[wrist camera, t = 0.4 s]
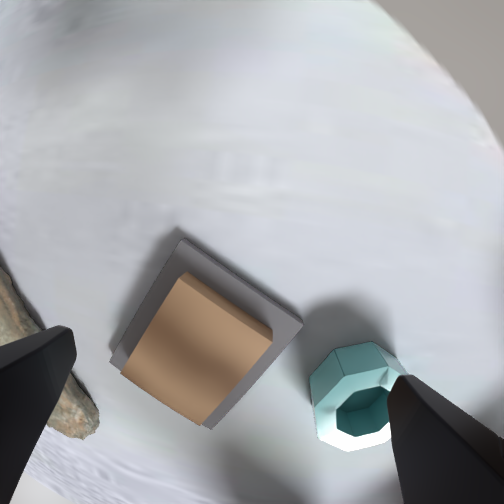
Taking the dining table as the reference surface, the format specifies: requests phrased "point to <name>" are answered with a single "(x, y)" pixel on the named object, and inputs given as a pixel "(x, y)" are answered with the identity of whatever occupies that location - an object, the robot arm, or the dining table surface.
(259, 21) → the dining table surface
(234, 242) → the dining table surface
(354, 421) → the bowl
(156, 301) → the mat
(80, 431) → the long grey stone
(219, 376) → the lid
